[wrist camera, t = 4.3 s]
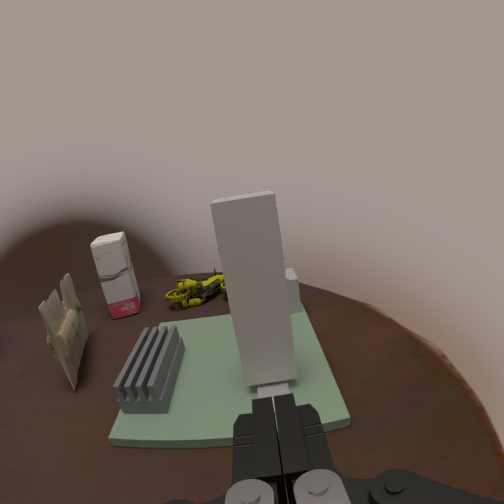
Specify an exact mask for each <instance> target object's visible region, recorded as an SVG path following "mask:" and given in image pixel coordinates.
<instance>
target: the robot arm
mask: <svg viewBox="0 0 504 504" xmlns="http://www.w3.org/2000/svg"><path fill="white" fill-rule="evenodd" d="M273 397H274V405H275V412H276V418H275V412H274V407H273V401H272V396H271V397H265V398H257V399H252V413H247V414H239V416H238V418H237V419H236V421H235V423H234V425H233V466H232V484H231V486H230V488H229V490H228V491H227V492H226V493H225V494H224V495H223V496H221V497H220V498H218V499H215V500H212V501H209V502H205V503H202V504H287V496H286V489H285V482H286V488H287V493H288V499H289V504H504V502H502V501H498V500H494V499H490V498H487V497H483V496H479V495H476V494H473V493H469V492H466V491H463V490H460V489H457V488H453V487H450V486H448V485H445V484H442V483H439V482H436V481H433V480H431V479H428V478H425V477H423V476H420V475H417V474H415V473H412V472H410V471H407V470H404V469H390V470H387V471H384V472H382V473H381V474H379V475H378V476H377V477H376V478H375V479H353V478H348V477H346V476H344V475H342V474H340V473H339V472H338V471H337V470H336V468H335V466H334V464H333V460H332V457H331V454H330V450H329V447H328V443H327V440H326V436H325V434H324V430H323V426H322V423H321V420H320V416H319V413H318V411H317V410H316V409H315V408H314V407H313V406H312V405H311V404H305V405H300V406H296V404H295V399H294V395H293V393H289V394H283V395H277V396H273ZM276 419H277V424H276ZM277 427H278V430H277ZM278 434H279V437H278ZM279 441H280V444H279ZM280 449H281V452H280ZM281 456H282V459H281ZM282 463H283V467H282ZM283 471H284V474H283ZM284 477H285V481H284ZM165 504H194V503H192V502H190V501H188V500H182V499H177V500H171V501H168V502H166V503H165Z"/></svg>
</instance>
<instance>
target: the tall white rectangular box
mask: <svg viewBox="0 0 504 504" xmlns="http://www.w3.org/2000/svg"><path fill="white" fill-rule="evenodd" d="M210 205H211V211H212V216H213V222H214V228H215V233H216V238H217V244H218V250H219V255H220V260H221V265H222V270H223V276H224V281H225V286H226V291H227V296H228V301H229V306H230V311H231V316H232V321H233V326H234V331H235V336H236V340H237V345H238V350H239V354H240V359H241V364H242V368H243V373H244V377H245V382H246V386H250V385H258V384H265V383H271V382H278V381H284V380H290V379H296V378H297V369H296V359H295V350H294V341H293V332H292V323H291V314H290V306H289V297H288V289H287V281H286V273H285V266H284V258H283V250H282V243H281V235H280V228H279V221H278V213H277V207H276V200H275V194H274V193H273V192H272V191H263V192H257V193H250V194H244V195H238V196H232V197H225V198H219V199H214V200H213V201H212V202H211V204H210Z"/></svg>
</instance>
